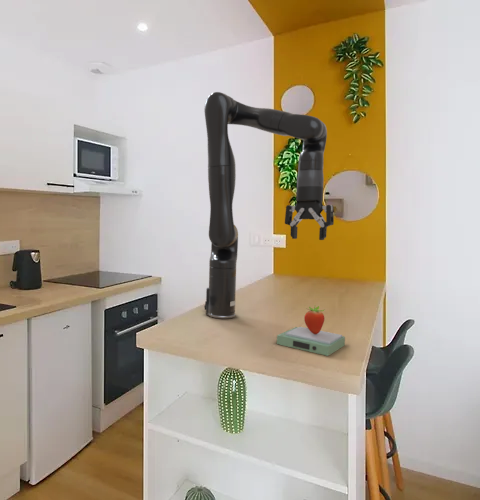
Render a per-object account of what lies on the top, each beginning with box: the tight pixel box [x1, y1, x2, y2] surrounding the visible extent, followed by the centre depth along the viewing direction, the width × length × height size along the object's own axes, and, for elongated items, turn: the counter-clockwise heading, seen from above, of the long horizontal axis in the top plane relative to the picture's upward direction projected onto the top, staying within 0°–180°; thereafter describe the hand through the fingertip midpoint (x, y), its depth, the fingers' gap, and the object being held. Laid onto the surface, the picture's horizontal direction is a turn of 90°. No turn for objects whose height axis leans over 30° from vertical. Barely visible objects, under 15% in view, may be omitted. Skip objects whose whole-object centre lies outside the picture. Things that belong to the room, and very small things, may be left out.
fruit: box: [303, 305, 326, 334], centre depth 114 cm, size 5×5×8 cm
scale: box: [276, 326, 346, 357], centre depth 114 cm, size 14×12×3 cm
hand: (307, 239), depth 128 cm, fingers open, 8 cm apart
